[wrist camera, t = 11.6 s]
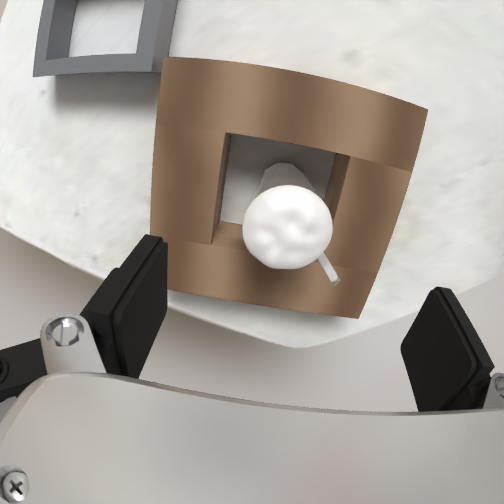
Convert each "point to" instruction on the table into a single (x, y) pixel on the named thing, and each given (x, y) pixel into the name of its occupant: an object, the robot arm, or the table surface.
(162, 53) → the grey square frame
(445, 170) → the table surface
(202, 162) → the socket block
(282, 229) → the milkshake
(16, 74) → the table surface
